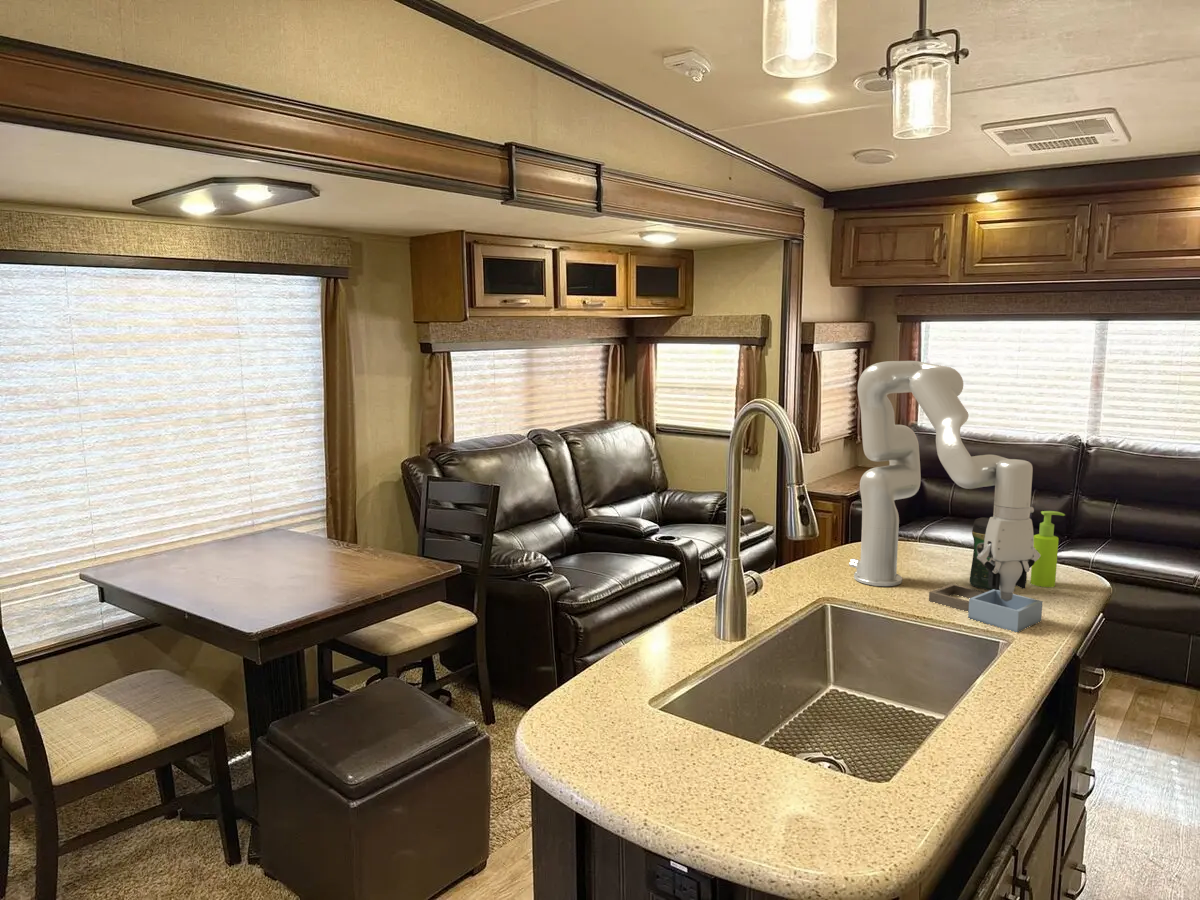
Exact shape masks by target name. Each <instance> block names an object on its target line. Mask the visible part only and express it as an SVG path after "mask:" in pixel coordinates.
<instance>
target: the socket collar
mask: <svg viewBox="0 0 1200 900" xmlns="http://www.w3.org/2000/svg"><path fill="white" fill-rule="evenodd" d="M985 592H986V591H984V590H983V591H982V590H979V589H976V588H975V589H974V588H971V587H968V586H963V585H959V584H955V583H950V584H947V585H945V586H942V587H940V588H939V587H938V588H936V589H933V590H931V591H929V592H928V602H929V601H930V602H929V603H933V602H935V603H934V604H936V603H938V604H937V605H940V604H942V605H941V606H944V605H946V606H945V607H947V606H950V607H949V608H951V607H952V608H951V609H954V608H956V609H955V610H958V609H960V610H959V611H961V610H964V611H963V612H965V611H969V600H966V599H969V598H972V597H975V596H977V595H980V594H982V593H985ZM953 594H955V595H953ZM950 595H951V596H950ZM957 595H959V596H958V597H959V598H958V597H955V596H957ZM961 596H963V597H962V598H965V597H967V598H966V599H962V598H960V597H961Z"/></svg>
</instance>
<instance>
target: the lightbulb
mask: <svg viewBox="0 0 1200 900" xmlns="http://www.w3.org/2000/svg"><path fill="white" fill-rule="evenodd" d="M1022 571H1023V568H1022V565H1021V563H1020V562H1019V561H1007V562H1002V563H1001V566H1000V568H999V570H998V573H999V574H1000V585H999V589H1000V598H1001V599H1003V600H1004V601H1006V602H1008V601H1009V600H1012V597H1013V594H1014V592H1015V587H1016V585H1015V584H1016V582H1017V581H1018V579H1019V578H1020V576H1021V575H1022Z"/></svg>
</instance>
